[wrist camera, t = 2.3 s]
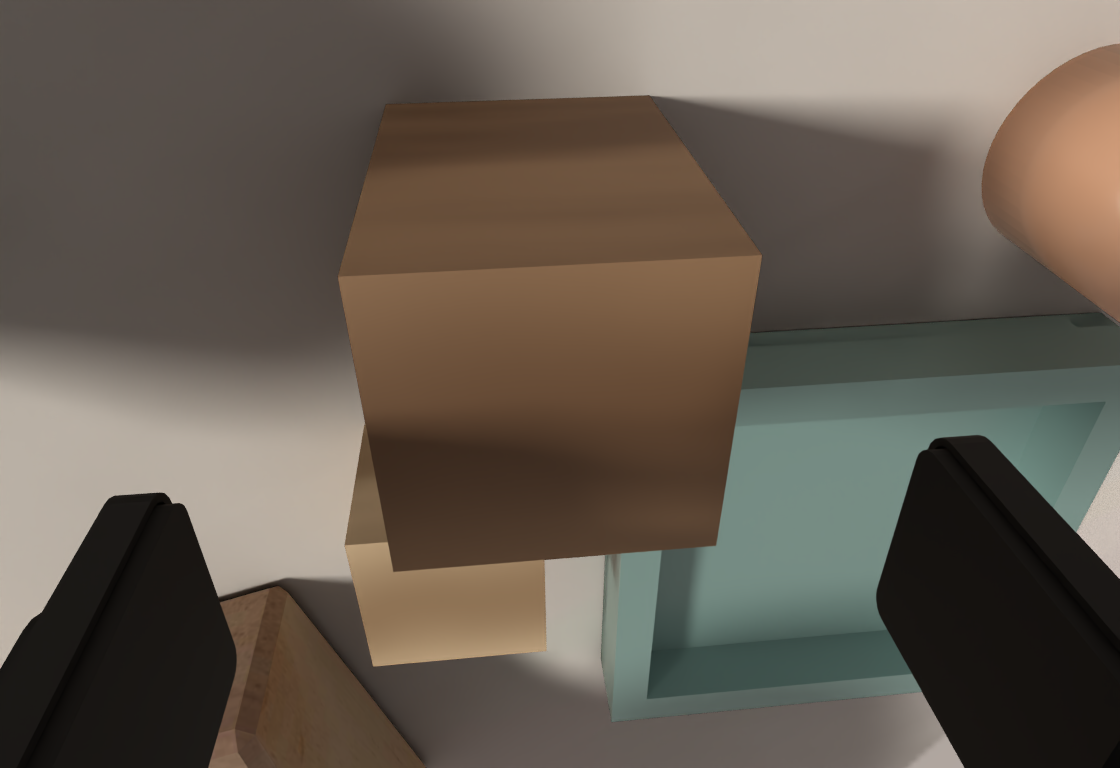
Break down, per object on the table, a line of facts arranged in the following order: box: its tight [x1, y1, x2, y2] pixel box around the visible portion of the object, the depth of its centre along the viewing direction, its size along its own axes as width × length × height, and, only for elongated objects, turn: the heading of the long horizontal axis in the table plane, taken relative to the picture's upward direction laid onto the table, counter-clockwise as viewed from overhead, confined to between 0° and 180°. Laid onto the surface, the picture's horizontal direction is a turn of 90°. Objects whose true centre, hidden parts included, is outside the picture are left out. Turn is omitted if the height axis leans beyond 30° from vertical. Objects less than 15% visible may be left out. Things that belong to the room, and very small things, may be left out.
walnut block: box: [338, 95, 762, 572], centre depth 13 cm, size 5×5×7 cm
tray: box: [601, 313, 1120, 722], centre depth 21 cm, size 12×12×2 cm
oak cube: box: [345, 425, 546, 667], centre depth 19 cm, size 4×4×4 cm
